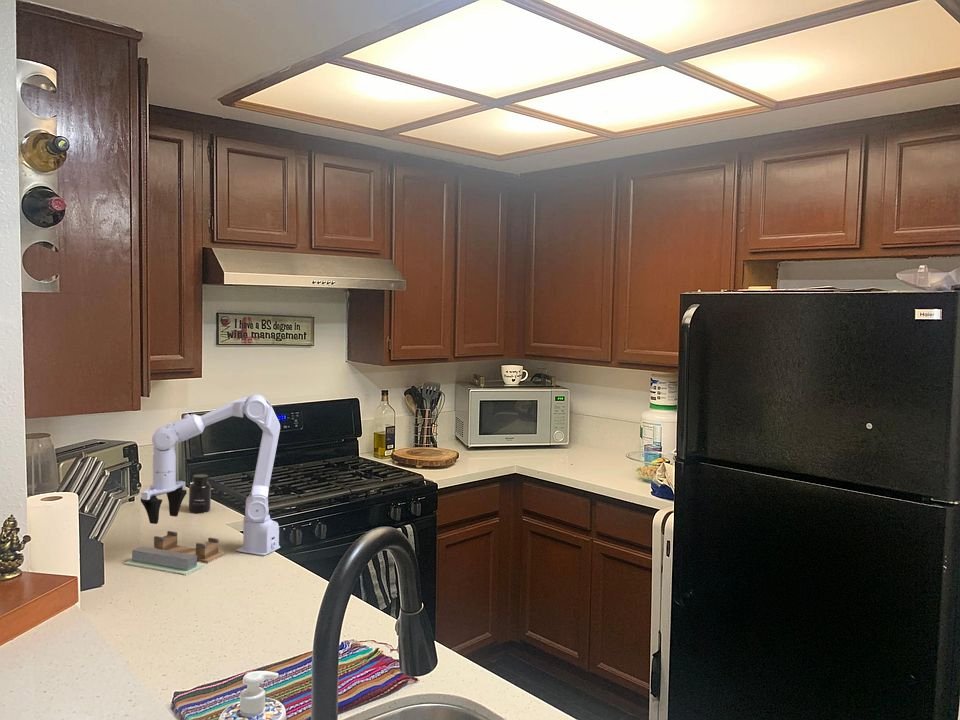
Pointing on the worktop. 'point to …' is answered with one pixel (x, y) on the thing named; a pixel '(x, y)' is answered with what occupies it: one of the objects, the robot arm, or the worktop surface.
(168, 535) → the wooden stand
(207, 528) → the worktop surface
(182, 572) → the rubber mat
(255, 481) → the robot arm
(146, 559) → the steel rail
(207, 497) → the supplement bottle
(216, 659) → the worktop surface
